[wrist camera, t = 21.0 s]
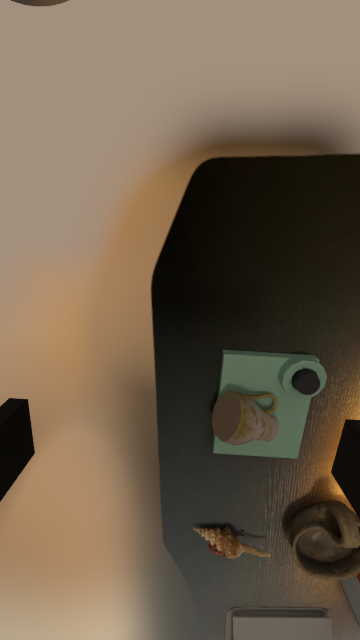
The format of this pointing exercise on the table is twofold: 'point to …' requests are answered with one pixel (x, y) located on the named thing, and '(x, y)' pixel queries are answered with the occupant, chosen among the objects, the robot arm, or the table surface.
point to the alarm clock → (353, 594)
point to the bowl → (326, 541)
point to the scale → (268, 377)
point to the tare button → (306, 382)
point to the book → (278, 624)
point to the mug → (244, 418)
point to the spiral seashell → (227, 543)
